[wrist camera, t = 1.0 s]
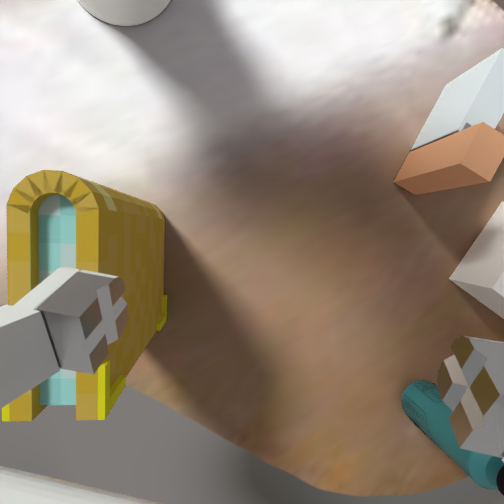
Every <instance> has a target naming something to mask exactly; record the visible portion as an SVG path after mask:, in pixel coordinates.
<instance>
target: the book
mask: <svg viewBox="0 0 504 504" xmlns="http://www.w3.org/2000/svg"><path fill="white" fill-rule="evenodd" d="M164 243H165V218H164V216H163V213H162V211H161V210H160V209H159V208H158V207H157V206H156V205H154V204H151V203H149V202H147V201H144V200H141V199H138V198H136V197H133V196H130V195H127V194H125V193H122V192H119V191H116V190H113V189H111V188H108V187H105V186H102V185H100V184H97V183H94V182H91V181H89V180H86V179H83V178H80V177H78V176H75V175H72V174H69V173H67V172H64V171H54V170H42V171H40V172H37V173H34V174H31V175H28V176H26V177H25V178H24V179H23V180H22V181H21V182H20V183H19V184H17V185H16V186H15V187H14V188H13V191H12V193H11V195H10V198H9V200H8V202H7V271H8V305H10V306H13V305H14V304H16V303H17V302H18V301H19V300H20V299H22V298H23V297H24V296H25V295H27V294H28V293H29V292H30V291H31V290H33V289H34V288H35V287H36V286H37V285H39V284H40V283H41V282H42V281H44V280H45V279H46V278H47V277H48V276H50V275H51V274H52V273H53V272H54V271H56V270H57V269H58V268H61V267H70V268H75V269H80V270H87V271H93V272H98V273H103V274H108V275H113V276H118V277H120V278H122V279H123V280H124V285H125V292H124V293H123V294H122V295H121V297H122V298H123V299H124V300H125V301H126V303H127V304H128V311H129V312H128V321H127V324H126V327H125V329H124V332H123V333H122V335H121V336H120V338H119V339H118V340H116V341H114V342H112V343H111V344H109V345H108V349H109V354H108V355H107V357H106V358H105V359H104V361H103V362H102V364H101V365H100V367H99V368H98V369H97V371H96V372H95V374H88V373H82V372H77V371H71V370H65V369H60V371H59V372H57V373H56V374H54V375H52V376H51V377H49V378H48V379H46V380H45V381H43V382H42V383H40V384H38V385H37V386H35V387H34V388H32V389H31V390H29V391H28V392H26V393H24V394H23V395H21V396H20V397H18V398H17V399H15V400H14V401H12V402H10V403H9V404H7V405H6V406H4V407H3V408H2V421H32V420H33V419H34V418H35V417H36V416H37V415H38V414H39V413H40V412H41V411H42V410H43V409H44V408H45V407H46V406H47V405H76V420H105V419H106V417H107V416H108V414H109V412H110V410H111V409H112V407H113V406H114V404H115V402H116V401H117V399H118V397H119V396H120V394H121V393H122V391H123V390H124V388H125V378H126V376H127V375H128V373H129V372H130V370H131V369H132V367H133V366H134V364H135V363H136V361H137V360H138V358H139V357H140V355H141V354H142V352H143V351H144V349H145V348H146V346H147V345H148V343H149V342H150V340H151V339H152V337H153V336H154V334H155V333H156V331H160V330H161V329H162V327H163V326H164V324H165V323H166V321H167V295H164Z"/></svg>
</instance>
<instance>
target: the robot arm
mask: <svg viewBox="0 0 504 504" xmlns="http://www.w3.org/2000/svg"><path fill="white" fill-rule="evenodd" d="M170 1H171V0H78V2H79V3H80V4H81V5H82V6H83V7H84V8H85V9H86V10H87V11H88V12H89V13H90V14H92V15H93V16H95V17H96V18H98V19H100V20H102V21H104V22H107V23H110V24H114V25H119V26H133V25H138V24H142V23H145V22H147V21H149V20H151V19H153V18H155V17H156V16H157V15H159V14H160V13H161V12H162V11H163V10H164V9H165V8H166V7H167V5H168V4H169V2H170ZM124 292H125V285H124V280H123V279H122V278H120V277H118V276H113V275H108V274H103V273H98V272H93V271H87V270H80V269H75V268H70V267H61V268H58V269H57V270H56V271H54V272H53V273H52V274H51V275H50V276H48V277H47V278H46V279H45V280H44V281H42V282H41V283H40V284H39V285H37V286H36V287H35V288H34V289H33V290H31V291H30V292H29V293H28V294H27V295H25V296H24V297H23V298H22V299H20V300H19V301H18V302H17V303H16V304H14V305H13V306H10V305H5V306H2V307H0V409H1V408H3V407H4V406H6V405H7V404H9V403H10V402H12V401H14V400H15V399H17V398H18V397H20V396H21V395H23V394H24V393H26V392H28V391H29V390H31V389H32V388H34V387H35V386H37V385H38V384H40V383H42V382H43V381H45V380H46V379H48V378H49V377H51V376H52V375H54V374H56V373H57V372H59V371H60V369H65V370H71V371H77V372H82V373H88V374H95V372H96V371H97V369H98V368H99V367H100V365H101V364H102V362H103V361H104V359H105V358H106V357H107V355H108V354H109V349H108V345H109V344H111V343H112V342H114V341H116V340H118V339H119V338H120V336H121V335H122V333H123V332H124V329H125V327H126V324H127V321H128V312H129V311H128V304H127V303H126V301H125V300H124V299H123V298H122V297H121V295H122V294H123V293H124ZM451 348H452V350H453V353H454V355H452V356H451V357H449V358H447V359H445V360H443V362H442V364H441V366H440V368H439V371H438V380H437V383H438V390H439V393H440V396H441V399H442V401H443V402H444V403H445V404H446V405H447V406H448V407H449V408H450V409H451V410H452V413H451V415H450V417H449V421H450V424H451V426H452V429H453V432H454V434H455V437H456V440H457V442H458V445H459V448H461V449H465V450H470V451H474V452H478V453H483V454H487V455H491V456H496V457H500V458H503V459H502V461H503V462H504V342H501V341H494V340H488V339H482V338H476V337H470V336H464V335H461V336H459V337H458V338H456V339H455V341H454V343H453V344H452V346H451ZM0 504H161V503H157V502H152V501H148V500H144V499H140V498H136V497H131V496H127V495H123V494H119V493H115V492H110V491H106V490H102V489H97V488H93V487H89V486H85V485H81V484H76V483H72V482H68V481H64V480H59V479H55V478H51V477H46V476H43V475H38V474H34V473H30V472H26V471H21V470H17V469H13V468H8V467H4V466H0Z"/></svg>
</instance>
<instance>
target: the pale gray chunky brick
mask: <svg viewBox="0 0 504 504" xmlns="http://www.w3.org/2000/svg"><path fill="white" fill-rule="evenodd" d="M503 113H504V48H501V49H500V50H498V51H497V52H495V53H494V54H492V55H491V56H489V57H488V58H486V59H485V60H483V61H482V62H480V63H478V64H477V65H475V66H474V67H472V68H471V69H469V70H468V71H466V72H465V73H463V74H462V75H460V76H459V77H457V78H455V79H454V80H452V81H451V82H449V83H448V84H446V86H445V88H444V89H443V91H442V93H441V95H440V97H439V99H438V100H437V102H436V104H435V106H434V108H433V110H432V111H431V113H430V115H429V117H428V119H427V121H426V123H425V124H424V126H423V128H422V130H421V132H420V134H419V135H418V137H417V139H416V141H415V143H414V145H413V147H412V148H411V150H410V151H414V150H416V149H418V148H421V147H423V146H426V145H428V144H430V143H433V142H435V141H438V140H440V139H442V138H445V137H447V136H450V135H452V134H454V133H457V132H459V131H462V130H464V129H466V128H469V127H471V126H474V125H476V124H478V123H481V122H484V123H486V124H487V125H489V126H491V127H492V128H494V129H495V128H496V126H497V124H498V122H499V120H500V119H501V117H502V115H503Z"/></svg>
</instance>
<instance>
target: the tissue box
mask: <svg viewBox="0 0 504 504" xmlns="http://www.w3.org/2000/svg"><path fill="white" fill-rule="evenodd" d="M449 280H451V281H452V282H454V283H455V284H456V285H458V286H459V287H460V288H462V289H463V290H465V291H466V292H467V293H469V294H470V295H471V296H473V297H474V298H476V299H477V300H478V301H480V302H481V303H482V304H484V305H485V306H487V307H488V308H489V309H491V310H492V311H493V312H495V313H496V314H498V315H499V316H500V317H502V318H503V319H504V201H503V202H501V204H500V205H499V207H498V208H497V210H496V211H495V213H494V214H493V215H492V217H491V218H490V220H489V221H488V223H487V224H486V226H485V227H484V229H483V230H482V231H481V233H480V234H479V236H478V237H477V239H476V240H475V242H474V243H473V244H472V246H471V247H470V249H469V250H468V252H467V253H466V255H465V256H464V258H463V259H462V260H461V262H460V263H459V265H458V266H457V268H456V269H455V271H454V272H453V273H452V275H451V276H450V278H449Z"/></svg>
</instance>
